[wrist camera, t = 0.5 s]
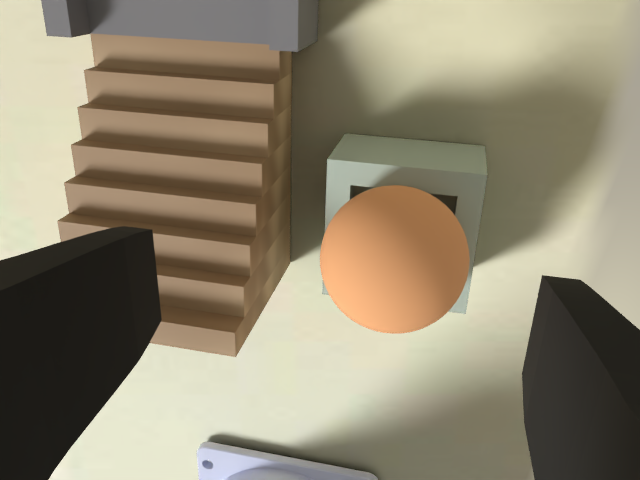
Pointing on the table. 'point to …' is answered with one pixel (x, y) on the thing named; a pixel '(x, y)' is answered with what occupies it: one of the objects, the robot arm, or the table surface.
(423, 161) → the hollow square container
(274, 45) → the lane
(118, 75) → the staircase
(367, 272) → the ball
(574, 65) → the table surface
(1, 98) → the table surface
